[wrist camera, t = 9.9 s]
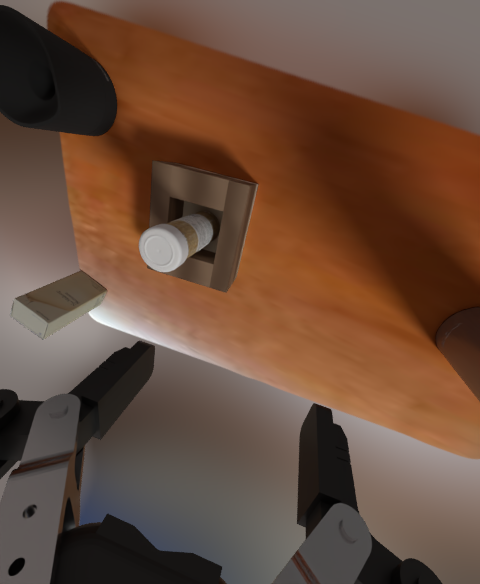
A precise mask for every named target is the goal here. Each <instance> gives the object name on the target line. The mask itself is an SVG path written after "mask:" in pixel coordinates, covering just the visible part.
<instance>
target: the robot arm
mask: <svg viewBox="0 0 480 584" xmlns="http://www.w3.org/2000/svg"><path fill="white" fill-rule="evenodd" d="M436 344H437V347H438V349H439V350H440V351H441V353H442V354H443V355H444V357H445V358H446V359H447V360H448V362H449V363H450V364H451V366H452V367H453V368H454V370H455V371H456V372H457V373H458V375H459V376H460V377H461V378H462V380H463V381H464V382H465V384H466V385H467V386H468V387H469V389H470V390H471V391H472V392H473V394H474V395H475V396H476V398H477V399H478V400H479V401H480V307H476V308H471V309H466V310H463V311H461V312H458V313H456V314H454V315H452V316H451V317H450V318H448V319H447V320H446V321H445V322H444V323H443V324H442V325H441V326H440V328H439V329H438V331H437V335H436ZM154 355H155V346H153V345H151V344H148V343H145V342H142V341H138V342H137V343H136V344H135V345H134V346H133V347H132V348H131V349H129V348H126V347H125V348H123V349H121V350H119V351H116V352H114V354H112V355H111V356H110V357H109V358H108V359H107V360H106V361H104V362H103V363H102V364H101V365H100V366H99V368H96V369H95V371H93V372H92V373H91V374H90V375H89V376H87V377H86V378H85V379H84V380H83V381H82V382H81V383H80V384H79V385H78V386H76V387H75V388H74V389H73V390H72V391H71V392H69V393H68V394H60V395H56V396H54V397H51V398H49V399H48V400H46V401H23V400H18V396H17V394H16V393H15V392H14V391H12V390H7V389H1V390H0V479H1V478H2V477H3V476H4V475H5V474H6V473H7V472H8V471H9V469H10V468H11V467H12V466H13V465H14V464H15V463H16V462H17V461H18V460H19V461H21V463H20V465H19V467H18V468H17V469H14V470H13V471H12V472H11V474H10V476H9V478H8V481H7V484H6V487H5V490H4V493H3V496H2V500H1V502H0V584H226V583H225V581H224V580H223V579H222V578H221V577H220V575H221V570H222V567H221V566H219V565H217V564H215V563H213V562H211V561H208V560H206V559H204V558H202V557H200V556H198V555H196V554H194V553H184V552H169V551H160V550H158V549H156V548H155V547H154V546H153V545H152V544H151V543H150V542H149V541H148V540H147V539H146V538H145V537H144V536H143V534H142V533H141V532H140V531H139V530H138V529H136V527H135V526H133V525H131V524H129V523H127V522H124V521H122V520H120V519H118V518H116V517H114V516H112V515H109V514H107V515H106V517H105V518H104V520H103V522H102V523H100V522H97V523H89V524H85V525H81V526H79V521H80V493H81V484H82V474H83V465H84V456H85V445H86V443H87V442H88V441H89V440H90V438H91V437H92V436H93V437H95V438H98V439H100V440H101V439H102V438H103V436H104V435H105V434H106V432H107V431H108V430H109V429H110V427H111V426H112V425H113V424H114V422H115V421H116V420H117V419H118V417H119V416H120V415H121V414H122V412H123V411H124V410H125V409H126V407H127V406H128V405H129V404H130V402H131V401H132V400H133V399H134V397H135V396H136V395H137V394H138V392H139V391H140V390H141V389H142V387H143V386H144V385H145V383H146V382H147V381H148V380H149V378H150V376H151V374H152V372H153V368H154ZM298 477H299V478H298V508H297V509H298V510H297V524H299V525H301V526H303V527H306V540H305V541H304V543H303V544H302V545H301V546H300V548H299V549H298V550H297V551H296V553H295V554H294V555H293V557H292V558H291V559H290V561H289V562H288V563H287V564H286V566H285V567H284V568H283V570H282V571H281V572H280V574H279V575H278V576H277V577H276V579H275V580H274V581H273V583H272V584H442V583H441V581H440V580H439V579H438V577H437V576H436V575H435V574H434V573H433V571H432V570H430V568H428V567H427V566H426V565H425V564H423V563H422V562H420V561H418V560H416V559H412V558H409V559H406V560H404V561H402V560H400V559H399V558H398V557H396V556H395V555H394V554H393V553H392V552H390V551H389V550H388V549H387V548H385V547H384V546H383V545H382V544H380V543H379V542H378V541H377V540H376V539H375V538H374V537H373V536H372V535H371V533H370V532H369V529H368V527H367V525H366V523H365V521H364V520H363V518H362V517H361V516H360V514H359V511H358V507H357V501H356V495H355V488H354V481H353V475H352V468H351V465H350V455H349V448H348V442H347V438H346V436H345V434H344V432H343V430H342V428H341V426H339V425H337V424H334V423H333V417H332V411H331V409H329V408H326V407H323V406H321V405H318V404H315V403H314V404H313V405H312V407H311V409H310V411H309V413H308V415H307V417H306V418H305V420H304V422H303V425H302V428H301V432H300V443H299V476H298Z"/></svg>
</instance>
